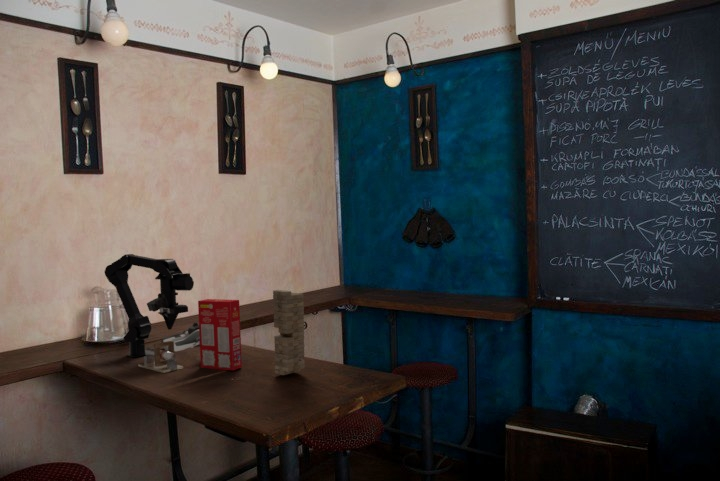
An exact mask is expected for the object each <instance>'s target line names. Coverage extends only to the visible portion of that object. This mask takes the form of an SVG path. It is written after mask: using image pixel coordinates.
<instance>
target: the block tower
mask: <svg viewBox="0 0 720 481" xmlns="http://www.w3.org/2000/svg"><path fill="white" fill-rule="evenodd" d="M304 297H305V296H304V293H301V292H299V293H298V292H293V291H291V290H283V289H274V290H272V298H273V299H272V300H273V328H276V329H278V330H277V331H278V333H279V334H278V335H274V337H273V338H274V374H277V375H280V376H286V375H289V374H294V373H299V372H301V370H302V369H303V370H304V369H305V368H306V365H305V362H306V361H305V359H303V358H300V357H304V356H305V308H304V304H305V302H304Z"/></svg>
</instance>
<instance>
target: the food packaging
mask: <svg viewBox="0 0 720 481" xmlns="http://www.w3.org/2000/svg"><path fill="white" fill-rule="evenodd" d="M197 306H198V307H197V309H198V325H199V335H200V345H199V353H200V354H199V355H200V357H199V359H200V368H201V369H211V370H223V371H224V370H225V371H235V370H238V369H241V368H242V367H243V364H242V362H243V361H242V337H241V316H240V315H241V313H240V310H241V309H240V299H222V298H221V299H218V298H217V299H216V298H215V299H212V298H206V299H205V298H204V299H201V300H198V301H197Z"/></svg>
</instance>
